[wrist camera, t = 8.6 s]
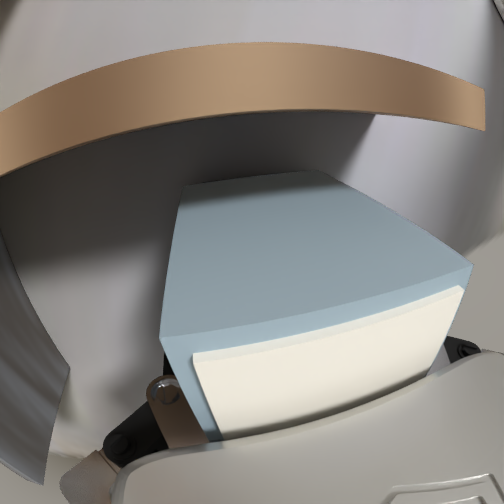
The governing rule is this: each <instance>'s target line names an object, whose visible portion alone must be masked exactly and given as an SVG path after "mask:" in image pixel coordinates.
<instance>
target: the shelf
mask: <svg viewBox="0 0 504 504" xmlns="http://www.w3.org/2000/svg"><path fill="white" fill-rule="evenodd" d="M302 111H321V112H352V113H368V114H380V115H392V116H401V117H410V118H418V119H425V120H432V121H438V122H444V123H449V124H455V125H460V126H464V127H469V128H474V129H478V130H482V131H485V94H484V89H482V88H480V87H478V86H476V85H473V84H471V83H469V82H466V81H464V80H462V79H459V78H457V77H454V76H451V75H449V74H446V73H443V72H441V71H438V70H435V69H432V68H429V67H426V66H422V65H419V64H416V63H412V62H409V61H405V60H401V59H397V58H393V57H389V56H385V55H380V54H376V53H371V52H365V51H360V50H354V49H348V48H341V47H333V46H325V45H315V44H302V43H279V42H252V43H229V44H216V45H206V46H198V47H190V48H183V49H177V50H171V51H165V52H160V53H155V54H150V55H146V56H141V57H137V58H133V59H129V60H125V61H121V62H118V63H114V64H111V65H107V66H104V67H101V68H98V69H95V70H92V71H89V72H86V73H83V74H80V75H78V76H75V77H72V78H70V79H67V80H65V81H62V82H60V83H58V84H55V85H53V86H51V87H48V88H46V89H44V90H42V91H40V92H38V93H36V94H33V95H31V96H29V97H27V98H25V99H24V100H22V101H20V102H18V103H16V104H14V105H12V106H11V107H9V108H7V109H5V110H4V111H2V112H0V178H1V177H3V176H5V175H7V174H9V173H11V172H14V171H16V170H18V169H20V168H23V167H25V166H28V165H30V164H32V163H35V162H37V161H40V160H43V159H45V158H48V157H51V156H53V155H56V154H59V153H62V152H65V151H68V150H71V149H74V148H77V147H80V146H83V145H86V144H90V143H93V142H96V141H100V140H103V139H107V138H111V137H114V136H118V135H122V134H126V133H131V132H135V131H139V130H144V129H148V128H153V127H158V126H163V125H169V124H174V123H180V122H186V121H192V120H199V119H206V118H214V117H223V116H232V115H242V114H255V113H271V112H302ZM69 369H70V367H69V366H68V364H67V363H66V361H65V360H64V358H63V357H62V355H61V354H60V352H59V351H58V349H57V348H56V346H55V345H54V343H53V341H52V340H51V338H50V336H49V335H48V333H47V331H46V330H45V328H44V326H43V325H42V323H41V321H40V319H39V318H38V316H37V314H36V312H35V310H34V308H33V306H32V304H31V303H30V301H29V299H28V297H27V295H26V293H25V290H24V288H23V286H22V284H21V282H20V280H19V278H18V275H17V273H16V271H15V268H14V266H13V264H12V261H11V259H10V256H9V254H8V251H7V248H6V246H5V243H4V240H3V237H2V234H1V231H0V463H2V464H3V465H4V466H6V467H7V468H9V469H10V470H12V471H13V472H15V473H16V474H18V475H19V476H21V477H23V478H24V479H26V480H28V481H31V482H34V483H37V484H39V485H43V484H44V475H45V468H46V462H47V456H48V451H49V446H50V441H51V436H52V431H53V427H54V423H55V418H56V414H57V410H58V407H59V403H60V399H61V396H62V392H63V389H64V385H65V382H66V379H67V376H68V372H69Z"/></svg>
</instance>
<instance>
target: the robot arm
mask: <svg viewBox="0 0 504 504" xmlns="http://www.w3.org/2000/svg"><path fill="white" fill-rule="evenodd" d="M494 2H495V4H496V7H497V9H498V11H499V13H500V15H501V17H502V19H503V21H504V0H494ZM146 396H147V400H148V401H147V402H146V403H144V404H143V405H142V406H141V407H140V408H139V409H138V410H136V411H135V412H134V413H133V414H132V415H130V416H129V417H128V418H127V419H126V420H125V421H123V422H122V423H121V424H120V425H119V426H117V427H116V428H115V429H114V430H113V431H111V432H110V433H109V434H108V435H107V436H106V438H105V440H104V442H103V448H102V449H101V450H100V451H97V450H95V451H94V452H92V453H91V454H90V455H88V456H87V457H86V458H85V459H83V460H82V461H81V462H80V463H78V464H77V465H76V466H74V467H73V468H71V470H69V471H68V472H66V473H65V474H64V475H63V476H62V477H61V480H60V489H61V491H62V494H63V495H64V496H65V498H66V499H67V500H68V502H69V504H504V354H503V353H499V352H494V351H490V350H485V349H482V350H481V351H480V349H479V347H478V346H477V345H476V344H474V343H472V342H470V341H466V340H462V339H458V338H454V337H450V336H446V339H445V341H444V343H443V345H442V347H441V349H440V351H439V353H438V355H437V357H436V359H435V361H434V363H433V365H432V366H431V368H430V370H429V372H428V374H427V375H426V376H425V377H424V378H423V379H421V380H419V381H417V382H415V383H413V384H411V385H408V386H406V387H404V388H402V389H400V390H398V391H395V392H393V393H391V394H388V395H386V396H384V397H381V398H379V399H376V400H374V401H371V402H369V403H366V404H364V405H361V406H358V407H356V408H353V409H350V410H347V411H345V412H342V413H339V414H336V415H333V416H329V417H326V418H323V419H320V420H316V421H313V422H309V423H306V424H302V425H299V426H295V427H291V428H287V429H283V430H278V431H274V432H270V433H265V434H260V435H255V436H249V437H244V438H238V439H233V440H227V441H221V440H220V439H218V440H210V441H209V440H208V438H207V437H206V435H205V433H204V431H203V429H202V428H201V426H200V424H199V422H198V420H197V418H196V416H195V414H194V413H193V411H192V409H191V407H190V405H189V403H188V401H187V399H186V397H185V395H184V393H183V391H182V389H181V387H180V384H179V382H178V380H177V378H176V376H175V374H174V372H173V369H172V367H171V365H170V363H169V360H168V358H167V356H166V353H165V351H164V366H163V376H160V377H158V378H156V379H154V380H153V381H152V382H151V383H150V384H149V386H148V388H147V391H146Z"/></svg>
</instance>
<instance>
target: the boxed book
mask: <svg viewBox="0 0 504 504" xmlns="http://www.w3.org/2000/svg"><path fill="white" fill-rule="evenodd" d="M473 266H474V264H472V263H471V262H470V261H468V260H467V259H466V258H464V257H463V256H462V255H460V254H459V253H457V252H456V251H455V250H453V249H452V248H450V247H449V246H448V245H446V244H445V243H443V242H442V241H440V240H439V239H437V238H436V237H434V236H433V235H431V234H430V233H428V232H427V231H425V230H424V229H422V228H420V227H419V226H417V225H416V224H414V223H413V222H411V221H409V220H408V219H406V218H405V217H403V216H401V215H400V214H398V213H396V212H395V211H393V210H391V209H389V208H388V207H386V206H384V205H383V204H381V203H379V202H377V201H376V200H374V199H372V198H370V197H368V196H367V195H365V194H363V193H361V192H359V191H357V190H356V189H354V188H352V187H350V186H348V185H346V184H344V183H342V182H340V181H338V180H337V179H335V178H333V177H331V176H329V175H327V174H325V173H323V172H320V171H318V170H315V171H302V172H291V173H280V174H270V175H261V176H252V177H244V178H236V179H229V180H221V181H214V182H208V183H201V184H195V185H189V186H183V189H182V194H181V199H180V203H179V208H178V213H177V218H176V224H175V229H174V235H173V240H172V246H171V252H170V258H169V264H168V271H167V277H166V284H165V292H164V299H163V307H162V315H161V324H160V334H159V339H160V341H161V344H162V346H163V349H164V351H165V353H166V356H167V358H168V360H169V363H170V365H171V367H172V369H173V372H174V374H175V376H176V378H177V380H178V382H179V384H180V387H181V389H182V391H183V393H184V395H185V397H186V399H187V401H188V403H189V405H190V407H191V409H192V411H193V413H194V414H195V416H196V418H197V420H198V422H199V424H200V426H201V428H202V429H203V431H204V433H205V435H206V437H207V438H208V440H209V441H210V440H218V439H220V440H221V441H227V440H233V439H238V438H244V437H249V436H255V435H260V434H265V433H270V432H274V431H278V430H283V429H287V428H291V427H295V426H299V425H302V424H306V423H309V422H313V421H316V420H320V419H323V418H326V417H329V416H333V415H336V414H339V413H342V412H345V411H347V410H350V409H353V408H356V407H358V406H361V405H364V404H366V403H369V402H371V401H374V400H376V399H379V398H381V397H384V396H386V395H388V394H391V393H393V392H395V391H398V390H400V389H402V388H404V387H406V386H408V385H411V384H413V383H415V382H417V381H419V380H421V379H423V378H424V377H425V376H426V375H427V374H428V372H429V370H430V368H431V366H432V365H433V363H434V361H435V359H436V357H437V355H438V353H439V351H440V349H441V347H442V345H443V343H444V341H445V339H446V336H447V334H448V332H449V330H450V328H451V325H452V323H453V321H454V318H455V316H456V314H457V311H458V309H459V306H460V303H461V301H462V298H463V296H464V293H465V290H466V287H467V284H468V281H469V278H470V276H471V272H472V269H473Z"/></svg>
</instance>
